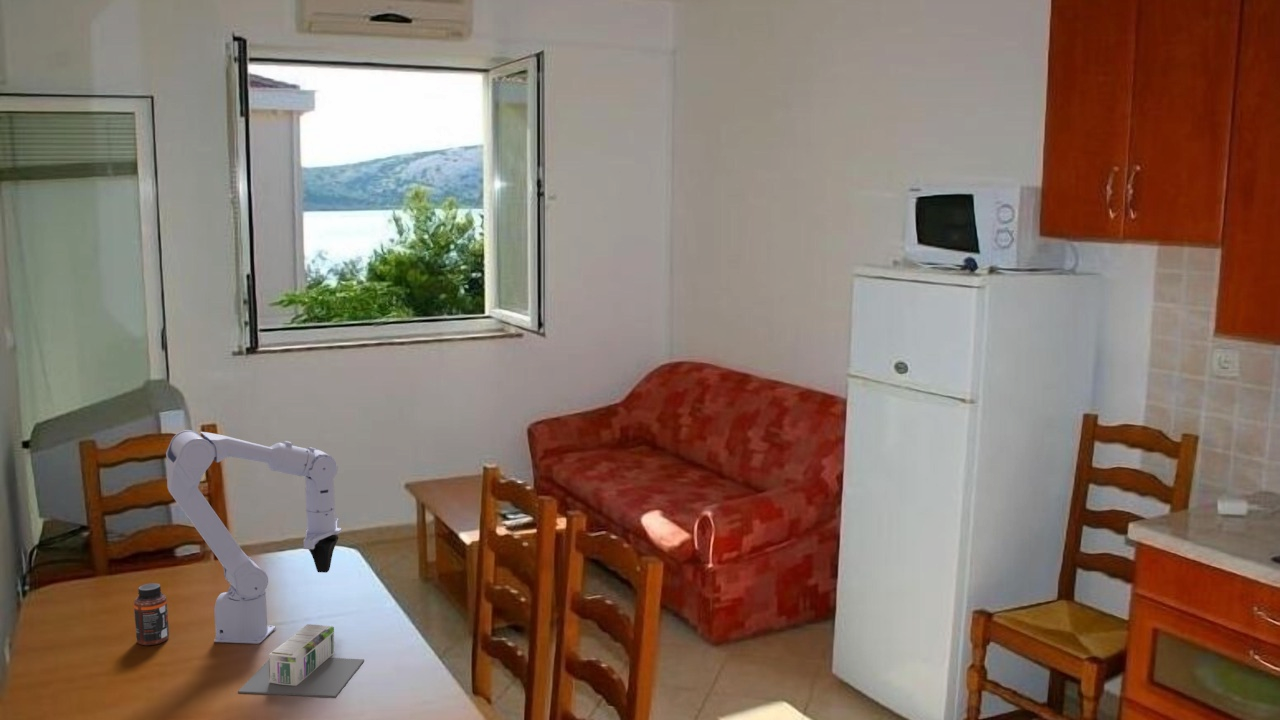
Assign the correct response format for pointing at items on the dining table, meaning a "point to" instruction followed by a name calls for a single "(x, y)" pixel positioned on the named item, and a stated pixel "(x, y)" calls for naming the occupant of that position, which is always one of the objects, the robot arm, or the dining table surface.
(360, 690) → the dining table surface
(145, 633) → the supplement bottle
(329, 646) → the syrup box
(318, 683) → the charcoal mat
